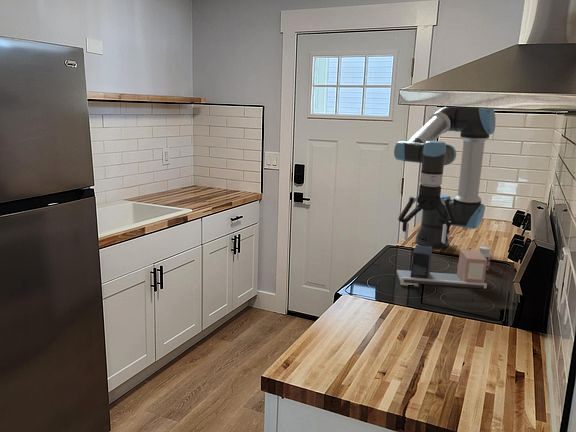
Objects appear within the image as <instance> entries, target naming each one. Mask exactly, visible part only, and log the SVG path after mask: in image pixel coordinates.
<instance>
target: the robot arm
mask: <svg viewBox="0 0 576 432" xmlns="http://www.w3.org/2000/svg"><path fill="white" fill-rule="evenodd" d="M495 129H496V113H495V109H494V108H493V109H484V108H455V107H446V106H444V107H442V108H439V109H438V110H436V111H435V112H434V113H433V114H431V115H430V117H429V119H428V122H426V123H425V124H424V125H423V126H422V127H421V128H420V129H419V130H417V132H416V133H415V134H414V135H412V136H411V137H410V139H408V140H407V141H406V140H399V141H397V142H396V143H395V145H394V149H393V154H394V158H395V159H396V160H397V161H402V162H411V163H416V164H417V163H418V164H419V163H420V164H421V169H420V171H421V172H420V179H419V183H420V185H419V190H418V196H417V197H413V196H412V195H411V196H409V197H408V201H407V203H406V205H405V206H404V209H402V212H401V213H400V215H399V216H398V218H397V219H398V221H399V223H402V232H404V236H403V237H404V239H403V240H404V241H405V242H408V240H409V239H408V238H409V237H408V236H409V230H410V229H409V227H410V223H409V222H410V221H411V220H412V219H413V218H414V217H415V216H416V215H417V214H418V213H419V212H421V211H422V212H421V222H420V227H419V229H418V230H417V232H416V235H415V239H414V242H415V243H416V244H417V245H420V246H429V247H432V248H434V249H435V248H438V249H440V248H446V247H448V246H449V242H450V241H449V236H448V235H449V234H450V230H451V226H454V227H458V228H464V229H470V230H471V229H472V230H475V229H477V228H478V227H479V226H480V224H481V222H482V219H483V218H484V214H485V211H486V209H485V208H486V205H485V204H484V203H482V198H481V197H480V196H479V192H480V191H479V190H480V182H481V175H482V168H483V167H482V166H483V159H484V158H483V157H484V152H485V142H486V141H487V140H488V139H489V138H490V135H493V134H494V132H495ZM447 132H458V133H460V134H459V135H460V136H459V137H460V139H462V151H461V161H460V170H459V171H460V172H459V180H458V189H457V194H456V195H454V196H453V199H452V198H451V196H450V195H449V194H441V193H442V187H441V185H442V183H443V174H444V167H445V166H448V165H450V164H452V163H454V162H455V160H456V158H457V151H456V148H455V147H454V146H453V145H451V144H447V143H446V142H444V141H440V140H437V139H438V138H439V137H441V135H443V134H445V133H447ZM416 202H417V204H418V205H416V206H415V207H414V208H413V209H412V210H411V212H409V211H410V209H411V208H412V206H413V204H415V203H416Z"/></svg>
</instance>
